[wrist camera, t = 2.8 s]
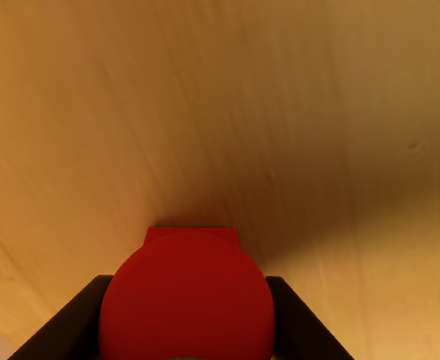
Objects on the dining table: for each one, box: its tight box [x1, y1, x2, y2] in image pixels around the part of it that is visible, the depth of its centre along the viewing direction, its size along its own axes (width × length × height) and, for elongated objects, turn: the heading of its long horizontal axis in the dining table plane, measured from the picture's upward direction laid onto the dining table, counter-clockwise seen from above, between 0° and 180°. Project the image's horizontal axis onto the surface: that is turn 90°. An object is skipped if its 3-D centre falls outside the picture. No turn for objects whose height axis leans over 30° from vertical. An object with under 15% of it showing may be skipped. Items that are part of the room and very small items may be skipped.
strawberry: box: [97, 227, 276, 360], centre depth 8 cm, size 4×4×4 cm
